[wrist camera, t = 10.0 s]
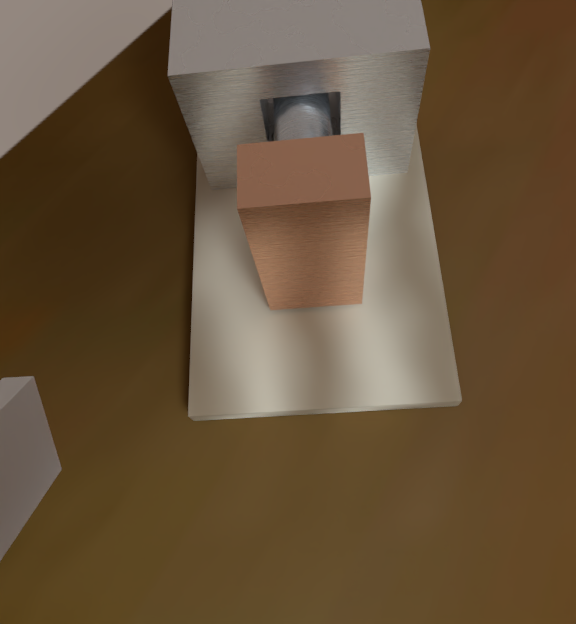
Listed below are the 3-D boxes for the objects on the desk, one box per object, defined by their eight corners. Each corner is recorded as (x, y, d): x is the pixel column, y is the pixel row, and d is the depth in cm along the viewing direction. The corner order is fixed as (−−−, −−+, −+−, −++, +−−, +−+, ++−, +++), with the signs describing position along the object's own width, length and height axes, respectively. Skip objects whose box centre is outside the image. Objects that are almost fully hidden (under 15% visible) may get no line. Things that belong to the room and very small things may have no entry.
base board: (403, 74, 36) (405, 60, 35) (457, 405, 28) (462, 400, 27) (203, 95, 37) (199, 82, 36) (194, 420, 29) (188, 416, 28)
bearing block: (392, 73, 35) (407, -68, 27) (407, 172, 32) (430, 47, 24) (213, 91, 36) (175, -40, 28) (211, 190, 33) (167, 75, 25)
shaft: (338, 63, 35) (336, -101, 26) (361, 303, 29) (371, 197, 19) (264, 71, 36) (236, -88, 27) (270, 310, 29) (236, 208, 20)
